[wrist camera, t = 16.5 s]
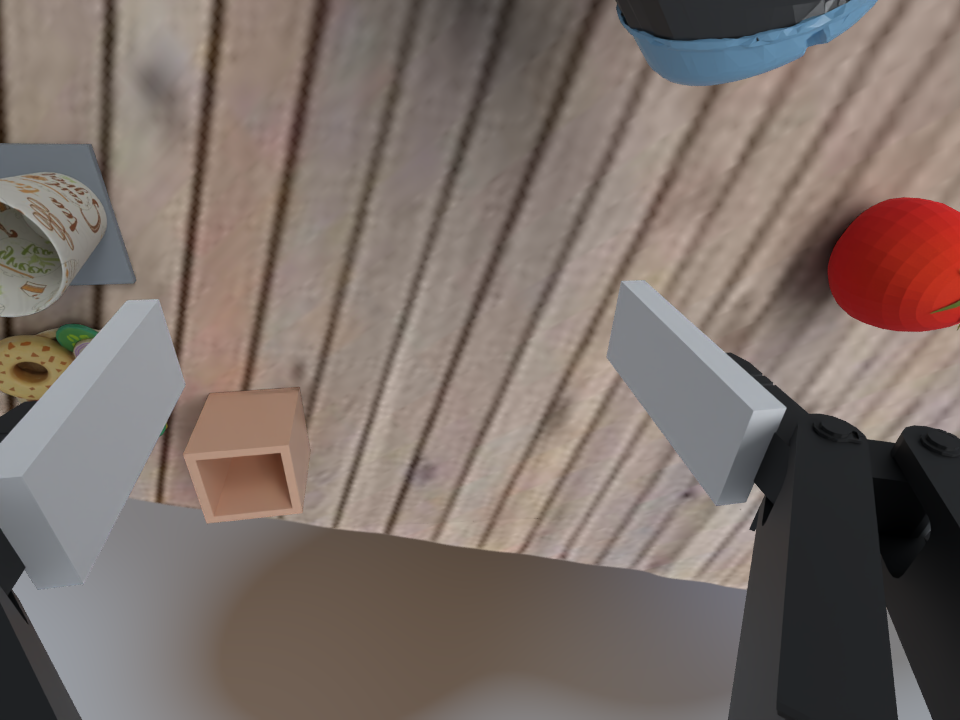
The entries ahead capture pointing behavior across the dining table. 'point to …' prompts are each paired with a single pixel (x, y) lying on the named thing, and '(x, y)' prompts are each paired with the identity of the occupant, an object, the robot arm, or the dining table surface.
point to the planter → (250, 454)
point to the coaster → (82, 165)
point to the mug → (44, 238)
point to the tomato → (900, 266)
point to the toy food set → (40, 360)
